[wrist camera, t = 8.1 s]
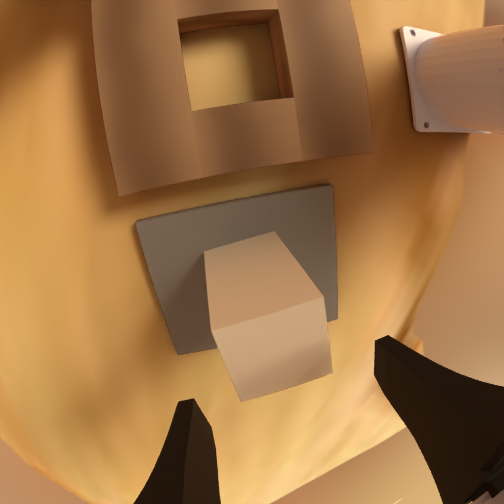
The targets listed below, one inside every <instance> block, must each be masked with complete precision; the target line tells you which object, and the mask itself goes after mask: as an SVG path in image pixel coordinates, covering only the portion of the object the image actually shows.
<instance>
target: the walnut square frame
mask: <svg viewBox="0 0 504 504" xmlns="http://www.w3.org/2000/svg"><path fill="white" fill-rule="evenodd" d="M91 10H92V29H93V42H94V53H95V63H96V72H97V80H98V88H99V95H100V102H101V109H102V115H103V121H104V127H105V132H106V138H107V143H108V148H109V153H110V158H111V163H112V168H113V172H114V177H115V181H116V185H117V190H118V194H119V197H121V196H125V195H128V194H132V193H137V192H141V191H145V190H149V189H153V188H158V187H162V186H166V185H171V184H175V183H180V182H185V181H189V180H194V179H199V178H204V177H209V176H214V175H220V174H225V173H230V172H236V171H242V170H247V169H253V168H259V167H266V166H272V165H279V164H285V163H292V162H299V161H307V160H315V159H323V158H331V157H340V156H349V155H359V154H370V153H374V148H373V136H372V126H371V116H370V108H369V100H368V92H367V85H366V78H365V72H364V66H363V60H362V54H361V49H360V44H359V38H358V34H357V29H356V24H355V20H354V15H353V11H352V7H351V3H350V0H91ZM264 23H268V26H269V32H270V37H271V43H272V48H273V54H274V60H275V66H276V72H277V78H278V84H279V91H280V97H281V99H273V100H264V101H255V102H248V103H240V104H233V105H227V106H220V107H214V108H208V109H203V110H197V111H192V112H191V107H190V101H189V94H188V88H187V82H186V75H185V69H184V62H183V56H182V49H181V42H180V35H179V34H180V33H185V32H191V31H197V30H204V29H211V28H218V27H227V26H237V25H248V24H264Z"/></svg>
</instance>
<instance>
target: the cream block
mask: <svg viewBox="0 0 504 504" xmlns="http://www.w3.org/2000/svg"><path fill="white" fill-rule="evenodd" d="M204 260H205V272H206V284H207V295H208V305H209V315H210V325H211V332H212V334H213V337H214V339H215V342H216V344H217V347H218V349H219V351H220V354H221V356H222V359H223V361H224V364H225V366H226V368H227V371H228V373H229V375H230V378H231V380H232V382H233V385H234V387H235V389H236V392H237V394H238V396H239V398H240V401H241V402H243V401H247V400H250V399H254V398H258V397H261V396H265V395H268V394H271V393H275V392H278V391H281V390H284V389H288V388H291V387H294V386H297V385H300V384H303V383H306V382H309V381H312V380H315V379H317V378H320V377H323V376H326V375H329V374H331V373H333V372H332V362H331V352H330V343H329V334H328V326H327V318H326V310H325V303H324V296H323V295H322V294H321V292H320V291H319V290H318V288H317V287H316V285H315V284H314V283H313V281H312V280H311V279H310V277H309V276H308V275H307V273H306V272H305V271H304V269H303V268H302V267H301V266H300V264H299V263H298V262H297V260H296V259H295V258H294V256H293V255H292V254H291V252H290V251H289V250H288V248H287V247H286V246H285V244H284V243H283V242H282V241H281V239H280V238H279V237H278V235H277V234H276V233H275V231H273V232H269V233H266V234H262V235H259V236H255V237H252V238H248V239H245V240H242V241H238V242H235V243H231V244H228V245H224V246H221V247H217V248H214V249H211V250H207V251H204Z"/></svg>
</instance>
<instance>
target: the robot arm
mask: <svg viewBox="0 0 504 504" xmlns="http://www.w3.org/2000/svg"><path fill="white" fill-rule="evenodd" d="M410 31H411V32H412V34H413V35H412V34H411V33H410ZM400 36H401V40H402V45H403V51H404V56H405V62H406V68H407V74H408V81H409V88H410V96H411V104H412V114H413V125H414V128H415V130H416V131H418V132H463V133H487V134H489V133H490V132H494V133H500V134H504V25H495V26H489V27H482V28H476V29H471V30H465V31H460V32H455V33H451V34H446V35H443V34H439V33H436V32H432V31H428V30H423V29H419V28H414V27H410V26H402V27H401V28H400ZM424 123H425V124H426V127H424ZM374 376H375V378H376V380H377V382H378V384H379V386H380V387H381V389H382V391H383V393H384V395H385V396H386V398H387V399H388V401H389V402H390V403H391V405H392V406H393V408H394V409H395V411H396V412H397V413H398V415H399V416H400V418H401V419H402V421H403V422H404V423H405V425H406V426H407V428H408V429H409V430H410V432H411V434H412V435H413V437H414V438H415V440H416V442H417V444H418V446H419V448H420V450H421V452H422V454H423V456H424V458H425V460H426V462H427V464H428V466H429V469H430V470H431V473H432V475H433V478H434V480H435V483H436V485H437V488H438V491H439V493H440V496H441V499H442V502H443V504H469V503H470V502H472V503H471V504H504V387H502V386H498V385H494V384H489V383H485V382H482V381H479V380H475V379H472V378H470V377H467V376H464V375H461V374H459V373H456V372H454V371H452V370H450V369H448V368H445V367H443V366H441V365H439V364H437V363H435V362H434V361H432V360H430V359H428V358H426V357H424V356H423V355H421V354H419V353H417V352H416V351H414V350H412V349H411V348H409V347H407V346H405V345H404V344H402V343H401V342H399V341H397V340H396V339H394V338H392V337H390V336H389V335H387V336H385V337H382V338H380V339H378V340H375V358H374ZM134 504H221V501H220V493H219V481H218V469H217V456H216V447H215V442H214V437H213V432H212V427H211V425H210V424H209V422H208V421H207V419H206V418H205V416H204V414H203V413H202V411H201V409H200V408H199V406H198V404H197V403H196V401H195V399H194V398H193V399H188V400H184V401H179V402H178V404H177V407H176V410H175V413H174V417H173V420H172V423H171V426H170V429H169V432H168V435H167V437H166V440H165V443H164V445H163V448H162V450H161V453H160V455H159V457H158V460H157V462H156V464H155V467H154V469H153V471H152V473H151V475H150V477H149V479H148V481H147V482H146V484H145V486H144V488H143V490H142V491H141V493H140V494H139V496H138V498H137V499H136V501H135V502H134Z"/></svg>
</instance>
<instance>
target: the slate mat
mask: <svg viewBox="0 0 504 504" xmlns="http://www.w3.org/2000/svg"><path fill="white" fill-rule="evenodd" d="M135 224H136V228H137V232H138V235H139V239H140V242H141V246H142V250H143V253H144V256H145V260H146V263H147V266H148V270H149V273H150V276H151V279H152V283H153V286H154V289H155V292H156V295H157V298H158V301H159V304H160V307H161V310H162V313H163V316H164V319H165V322H166V324H167V327H168V330H169V333H170V335H171V338H172V341H173V344H174V346H175V349H176V352H177V354H178V355H182V354H188V353H194V352H199V351H204V350H210V349H215V348H218V347H217V344H216V342H215V339H214V337H213V334H212V332H211V325H210V315H209V305H208V295H207V284H206V272H205V260H204V251H207V250H211V249H214V248H217V247H221V246H224V245H228V244H231V243H235V242H238V241H242V240H245V239H248V238H252V237H255V236H259V235H262V234H266V233H269V232H273V231H275V233H276V234H277V235H278V237H279V238H280V239H281V241H282V242H283V243H284V244H285V246H286V247H287V248H288V250H289V251H290V252H291V254H292V255H293V256H294V258H295V259H296V260H297V262H298V263H299V264H300V266H301V267H302V268H303V269H304V271H305V272H306V273H307V275H308V276H309V277H310V279H311V280H312V281H313V283H314V284H315V285H316V287H317V288H318V290H319V291H320V292H321V294H322V295H323V296H324V303H325V310H326V318H327V322H329V321H333V320H336V319H338V288H337V251H336V230H335V212H334V198H333V185H331V184H323V185H316V186H310V187H303V188H297V189H291V190H285V191H279V192H273V193H268V194H262V195H256V196H251V197H245V198H240V199H235V200H229V201H224V202H219V203H214V204H209V205H204V206H199V207H194V208H190V209H185V210H180V211H176V212H171V213H166V214H162V215H157V216H153V217H149V218H144V219H140V220H137V221H136V223H135Z"/></svg>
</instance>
